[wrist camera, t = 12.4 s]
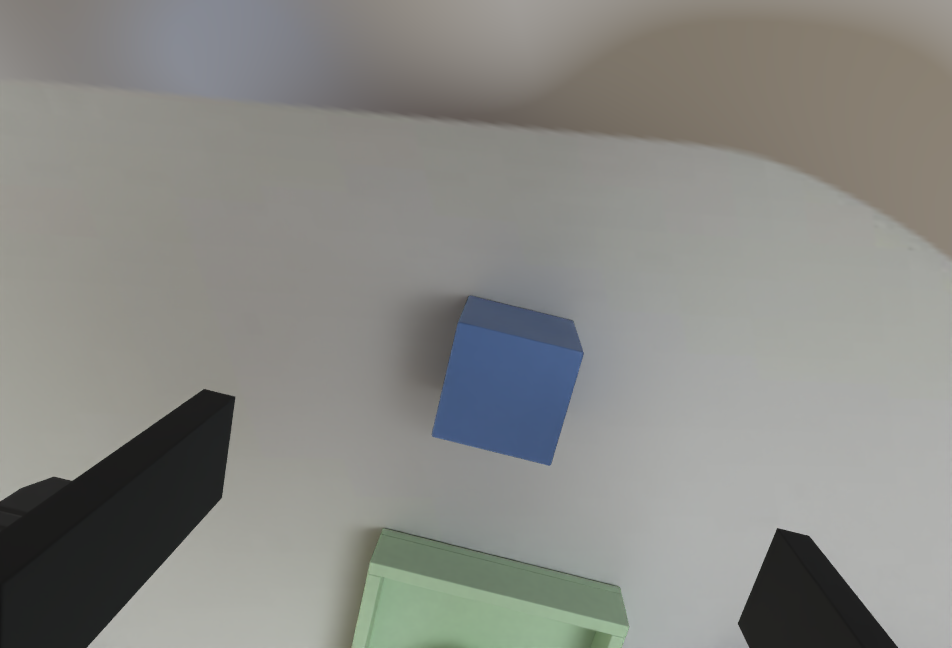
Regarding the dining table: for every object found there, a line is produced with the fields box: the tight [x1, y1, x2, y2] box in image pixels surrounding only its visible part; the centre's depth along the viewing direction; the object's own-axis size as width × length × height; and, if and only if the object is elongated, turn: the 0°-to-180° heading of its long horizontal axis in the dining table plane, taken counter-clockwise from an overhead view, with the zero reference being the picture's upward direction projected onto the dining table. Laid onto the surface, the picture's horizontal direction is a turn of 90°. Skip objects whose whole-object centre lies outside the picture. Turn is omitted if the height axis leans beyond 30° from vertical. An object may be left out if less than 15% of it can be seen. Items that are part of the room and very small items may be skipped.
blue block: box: [432, 296, 584, 465], centre depth 23 cm, size 4×4×4 cm
